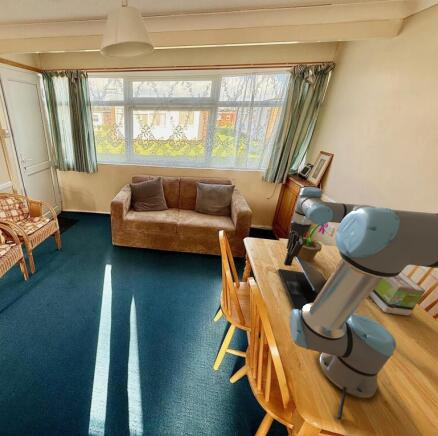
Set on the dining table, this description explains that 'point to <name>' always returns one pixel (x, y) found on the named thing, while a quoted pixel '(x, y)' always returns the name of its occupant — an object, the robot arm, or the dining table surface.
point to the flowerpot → (311, 245)
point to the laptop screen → (312, 275)
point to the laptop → (297, 288)
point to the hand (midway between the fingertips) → (287, 264)
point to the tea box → (397, 294)
